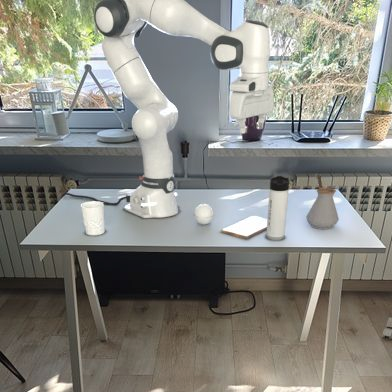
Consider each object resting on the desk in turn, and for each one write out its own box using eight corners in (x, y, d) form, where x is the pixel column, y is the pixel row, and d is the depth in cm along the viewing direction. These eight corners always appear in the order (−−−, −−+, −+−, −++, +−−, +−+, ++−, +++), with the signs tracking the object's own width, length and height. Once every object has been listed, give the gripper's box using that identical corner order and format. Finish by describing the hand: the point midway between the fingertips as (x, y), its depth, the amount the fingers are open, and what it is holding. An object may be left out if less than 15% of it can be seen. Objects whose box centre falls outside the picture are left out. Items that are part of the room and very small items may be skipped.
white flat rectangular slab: (221, 232, 179) (221, 229, 178) (252, 217, 191) (253, 215, 191) (246, 239, 173) (246, 236, 172) (277, 223, 186) (277, 221, 185)
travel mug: (283, 233, 177) (289, 175, 166) (284, 240, 171) (290, 181, 160) (266, 233, 177) (270, 175, 166) (266, 240, 172) (270, 180, 161)
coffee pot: (340, 231, 179) (347, 188, 170) (308, 231, 179) (313, 188, 170) (327, 212, 196) (333, 172, 188) (298, 212, 197) (302, 172, 188)
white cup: (96, 237, 175) (92, 209, 170) (79, 233, 179) (75, 205, 173) (110, 230, 181) (108, 203, 175) (94, 227, 184) (91, 199, 179)
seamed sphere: (192, 221, 189) (192, 201, 185) (212, 220, 189) (212, 200, 185) (195, 230, 180) (195, 210, 176) (216, 229, 181) (216, 209, 177)
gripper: (263, 79, 163) (260, 125, 171) (226, 85, 150) (225, 134, 158) (280, 80, 160) (276, 127, 168) (243, 86, 147) (242, 136, 154)
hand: (251, 130), depth 163 cm, fingers open, 8 cm apart
